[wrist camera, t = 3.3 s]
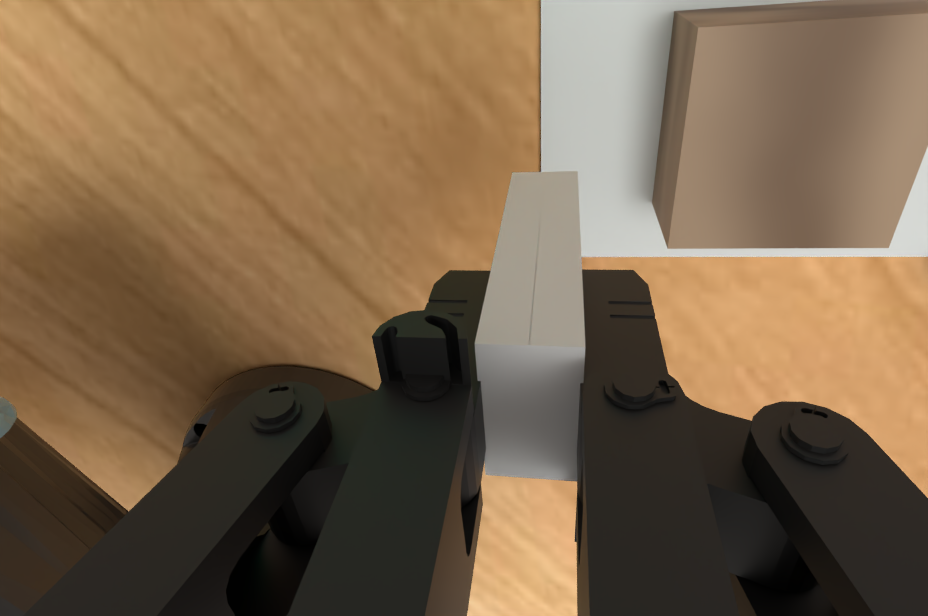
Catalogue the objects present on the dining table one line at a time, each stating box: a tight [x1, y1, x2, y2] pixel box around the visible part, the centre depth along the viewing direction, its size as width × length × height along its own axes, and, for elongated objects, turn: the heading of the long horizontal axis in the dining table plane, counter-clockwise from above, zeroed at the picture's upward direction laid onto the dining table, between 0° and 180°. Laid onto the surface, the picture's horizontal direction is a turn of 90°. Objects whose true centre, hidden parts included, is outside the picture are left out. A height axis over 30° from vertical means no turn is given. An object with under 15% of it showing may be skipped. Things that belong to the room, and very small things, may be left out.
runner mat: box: [541, 0, 928, 257], centre depth 20 cm, size 16×12×1 cm
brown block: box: [652, 0, 928, 249], centre depth 19 cm, size 7×7×4 cm
